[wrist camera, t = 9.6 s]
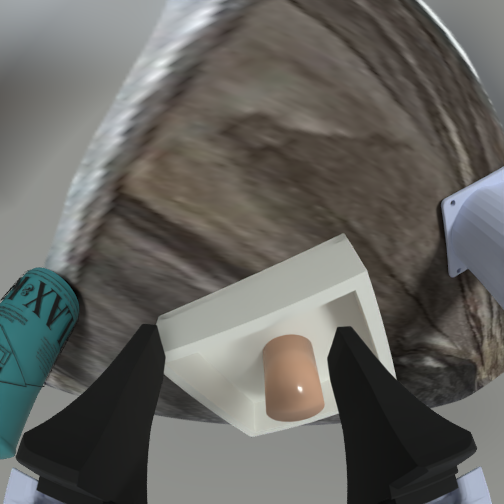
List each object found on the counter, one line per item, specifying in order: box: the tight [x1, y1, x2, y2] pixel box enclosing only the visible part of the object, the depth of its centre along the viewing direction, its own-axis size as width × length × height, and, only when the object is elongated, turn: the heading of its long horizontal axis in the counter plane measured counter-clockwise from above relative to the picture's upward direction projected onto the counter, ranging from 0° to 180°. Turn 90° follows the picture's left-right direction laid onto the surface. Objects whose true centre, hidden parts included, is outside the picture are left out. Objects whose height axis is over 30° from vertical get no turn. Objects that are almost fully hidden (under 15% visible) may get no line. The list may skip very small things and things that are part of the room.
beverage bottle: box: [0, 268, 79, 459], centre depth 13 cm, size 6×7×20 cm
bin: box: [156, 233, 397, 437], centre depth 23 cm, size 16×16×5 cm
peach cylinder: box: [263, 334, 325, 422], centre depth 22 cm, size 4×4×6 cm
